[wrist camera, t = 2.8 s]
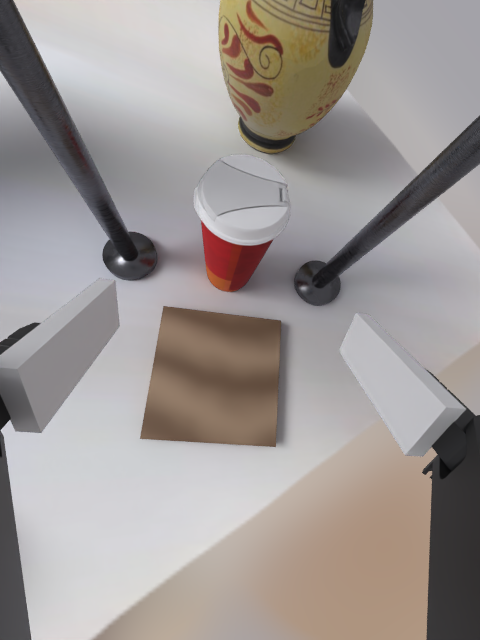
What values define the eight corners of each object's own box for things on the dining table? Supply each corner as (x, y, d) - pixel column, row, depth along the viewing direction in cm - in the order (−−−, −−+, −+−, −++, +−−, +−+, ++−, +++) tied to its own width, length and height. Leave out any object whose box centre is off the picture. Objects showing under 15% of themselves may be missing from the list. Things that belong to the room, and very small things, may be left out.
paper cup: (257, 247, 33) (293, 155, 20) (257, 301, 31) (298, 240, 18) (198, 242, 32) (195, 141, 19) (195, 298, 30) (189, 229, 17)
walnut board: (165, 309, 29) (163, 306, 28) (278, 323, 31) (281, 320, 30) (142, 436, 26) (140, 438, 24) (272, 444, 27) (275, 446, 26)
